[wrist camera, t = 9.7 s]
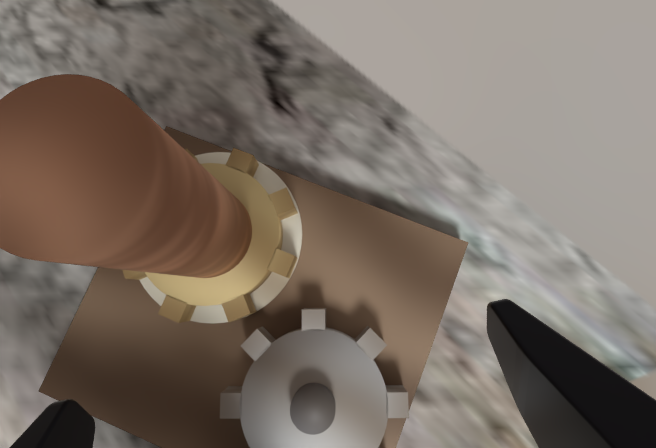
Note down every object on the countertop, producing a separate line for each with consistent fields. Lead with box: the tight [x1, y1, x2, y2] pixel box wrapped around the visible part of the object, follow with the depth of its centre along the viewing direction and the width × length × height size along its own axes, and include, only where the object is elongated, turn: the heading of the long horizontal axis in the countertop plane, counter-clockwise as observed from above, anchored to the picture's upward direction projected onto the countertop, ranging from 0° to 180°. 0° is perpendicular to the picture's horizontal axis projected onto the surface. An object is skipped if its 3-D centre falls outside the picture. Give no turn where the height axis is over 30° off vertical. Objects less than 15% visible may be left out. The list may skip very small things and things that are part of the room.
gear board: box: [39, 126, 468, 448], centre depth 21 cm, size 15×17×4 cm
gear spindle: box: [0, 74, 298, 323], centre depth 16 cm, size 9×9×12 cm
